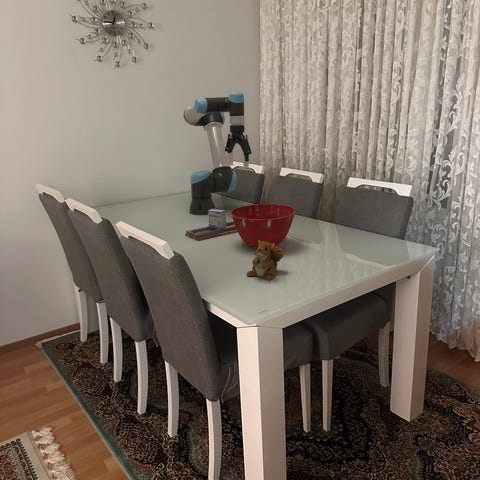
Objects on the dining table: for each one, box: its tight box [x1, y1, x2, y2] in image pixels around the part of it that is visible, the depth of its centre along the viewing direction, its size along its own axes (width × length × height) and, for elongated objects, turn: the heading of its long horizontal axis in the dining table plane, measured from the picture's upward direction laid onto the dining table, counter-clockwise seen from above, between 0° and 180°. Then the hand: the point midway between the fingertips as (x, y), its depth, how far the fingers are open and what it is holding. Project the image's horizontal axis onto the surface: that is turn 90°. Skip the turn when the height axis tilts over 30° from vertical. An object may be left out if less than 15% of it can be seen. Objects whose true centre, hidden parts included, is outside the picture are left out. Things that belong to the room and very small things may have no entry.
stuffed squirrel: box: [245, 240, 285, 281], centre depth 167 cm, size 10×14×13 cm
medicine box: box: [207, 208, 227, 229], centre depth 221 cm, size 8×4×9 cm, turn 62°
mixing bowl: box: [230, 203, 296, 249], centre depth 201 cm, size 28×28×15 cm
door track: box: [184, 220, 238, 242], centre depth 223 cm, size 12×30×2 cm, turn 126°
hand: (238, 166), depth 236 cm, fingers open, 13 cm apart
